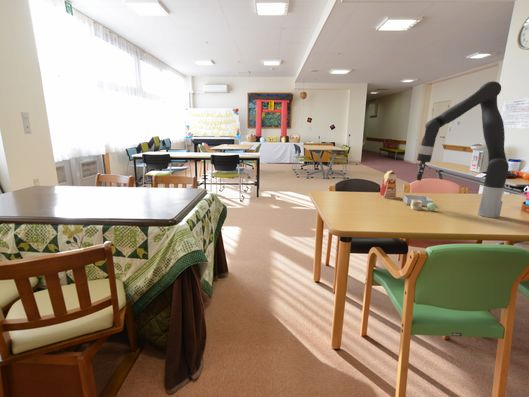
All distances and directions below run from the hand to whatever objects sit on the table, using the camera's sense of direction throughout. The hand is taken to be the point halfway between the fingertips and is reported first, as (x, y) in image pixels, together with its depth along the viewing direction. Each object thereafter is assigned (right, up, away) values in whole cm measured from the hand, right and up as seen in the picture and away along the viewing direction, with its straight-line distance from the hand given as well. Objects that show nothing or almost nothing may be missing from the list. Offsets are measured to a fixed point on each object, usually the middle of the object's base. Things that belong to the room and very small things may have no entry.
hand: (418, 179), depth 184 cm
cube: (-2, -18, -1) cm, 19 cm away
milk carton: (-7, -11, +29) cm, 32 cm away
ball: (+5, -19, -5) cm, 21 cm away
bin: (+5, -15, +12) cm, 20 cm away
